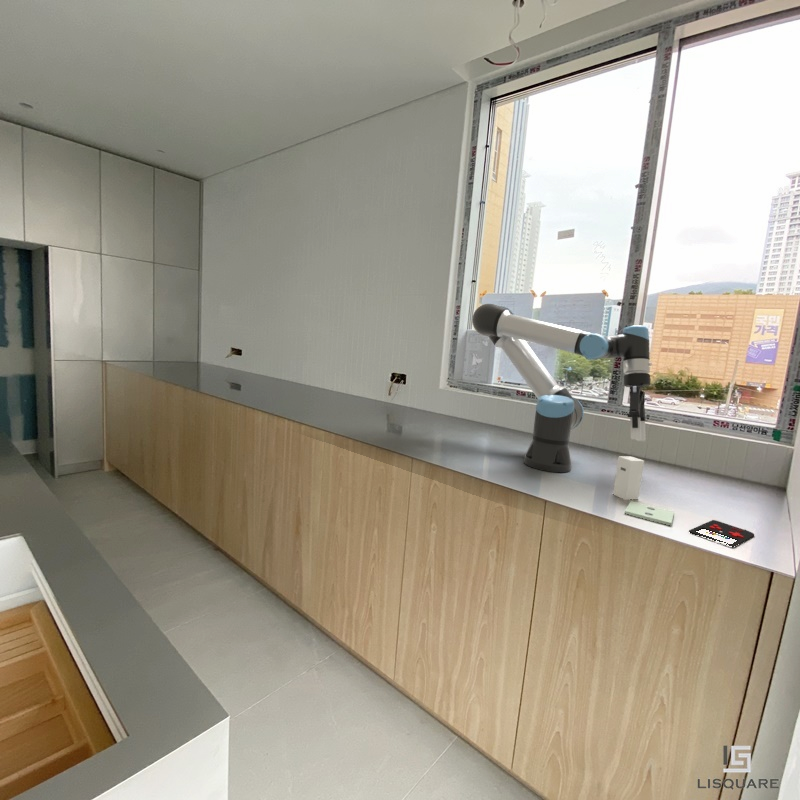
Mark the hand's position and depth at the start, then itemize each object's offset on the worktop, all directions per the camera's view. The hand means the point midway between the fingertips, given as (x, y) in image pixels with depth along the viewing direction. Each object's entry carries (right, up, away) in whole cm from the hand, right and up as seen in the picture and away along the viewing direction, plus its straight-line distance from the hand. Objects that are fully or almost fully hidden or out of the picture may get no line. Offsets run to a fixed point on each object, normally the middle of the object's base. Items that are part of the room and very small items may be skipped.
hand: (638, 440), depth 142 cm
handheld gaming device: (-1, -19, -38) cm, 43 cm away
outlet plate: (-13, -16, -30) cm, 36 cm away
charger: (-13, -14, -17) cm, 26 cm away
